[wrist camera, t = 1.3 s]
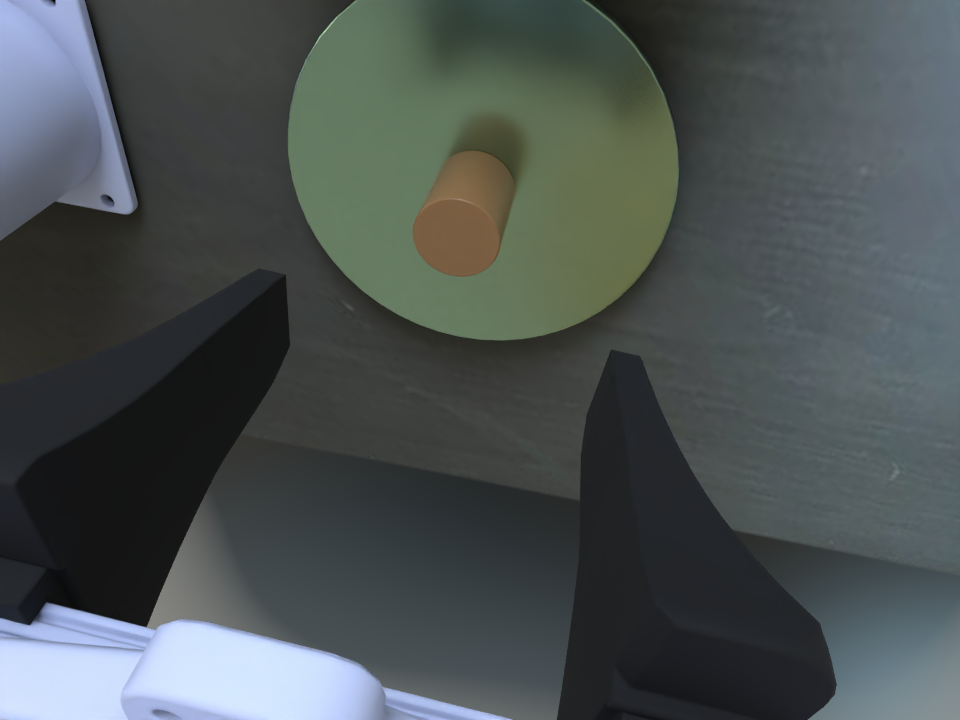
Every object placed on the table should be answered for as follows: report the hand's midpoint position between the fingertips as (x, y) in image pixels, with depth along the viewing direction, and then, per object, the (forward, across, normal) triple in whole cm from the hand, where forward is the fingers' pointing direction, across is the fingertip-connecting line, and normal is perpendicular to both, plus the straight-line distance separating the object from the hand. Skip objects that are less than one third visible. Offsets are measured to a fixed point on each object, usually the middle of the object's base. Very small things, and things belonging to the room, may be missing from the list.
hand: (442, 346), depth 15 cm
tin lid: (+9, +1, +1) cm, 9 cm away
